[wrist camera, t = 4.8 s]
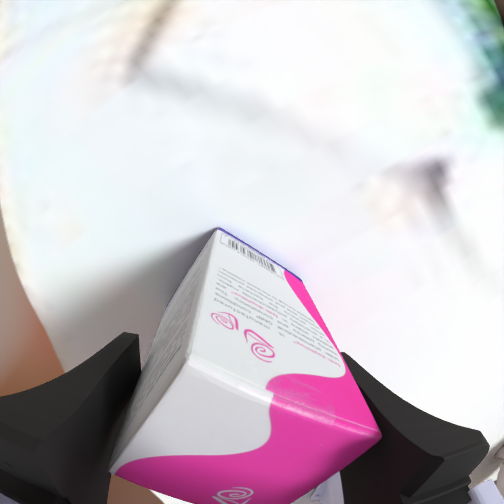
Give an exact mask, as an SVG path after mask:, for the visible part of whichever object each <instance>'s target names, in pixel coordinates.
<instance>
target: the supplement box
mask: <svg viewBox="0 0 504 504" xmlns="http://www.w3.org/2000/svg"><path fill="white" fill-rule="evenodd" d="M381 437H382V434H381V431H380V429H379V427H378V425H377V423H376V421H375V419H374V417H373V415H372V413H371V411H370V409H369V407H368V405H367V403H366V401H365V399H364V397H363V395H362V393H361V392H360V390H359V388H358V386H357V384H356V382H355V380H354V378H353V376H352V374H351V372H350V370H349V369H348V367H347V365H346V363H345V361H344V359H343V357H342V355H341V353H340V351H339V349H338V348H337V346H336V344H335V342H334V340H333V338H332V336H331V334H330V332H329V330H328V328H327V327H326V325H325V323H324V321H323V319H322V317H321V316H320V314H319V312H318V310H317V308H316V306H315V305H314V303H313V301H312V299H311V297H310V295H309V293H308V292H307V290H306V288H305V286H304V284H303V282H302V280H301V279H300V278H299V277H297V276H296V275H294V274H293V273H291V272H290V271H289V270H287V269H286V268H284V267H282V266H281V265H279V264H278V263H276V262H275V261H273V260H272V259H270V258H268V257H267V256H265V255H264V254H262V253H261V252H259V251H257V250H256V249H254V248H253V247H251V246H250V245H248V244H246V243H245V242H243V241H241V240H240V239H238V238H237V237H235V236H233V235H232V234H230V233H228V232H227V231H225V230H223V229H222V228H220V227H217V228H216V230H215V231H214V232H213V234H212V235H211V237H210V239H209V240H208V242H207V243H206V245H205V246H204V248H203V249H202V251H201V252H200V254H199V255H198V257H197V258H196V260H195V261H194V263H193V265H192V266H191V268H190V269H189V271H188V273H187V274H186V276H185V277H184V279H183V280H182V282H181V284H180V285H179V287H178V288H177V290H176V292H175V293H174V295H173V296H172V298H171V300H170V301H169V303H168V305H167V307H166V310H165V313H164V315H163V318H162V320H161V323H160V325H159V328H158V330H157V333H156V335H155V338H154V340H153V343H152V345H151V348H150V350H149V353H148V355H147V358H146V361H145V363H144V366H143V368H142V371H141V374H140V377H139V379H138V382H137V385H136V387H135V390H134V393H133V396H132V398H131V401H130V404H129V406H128V409H127V412H126V415H125V417H124V420H123V423H122V426H121V429H120V432H119V435H118V438H117V441H116V443H115V446H114V450H113V453H112V456H111V459H110V463H109V467H108V472H110V473H112V474H114V475H116V476H119V477H121V478H124V479H126V480H128V481H130V482H133V483H136V484H138V485H140V486H143V487H146V488H148V489H151V490H154V491H156V492H159V493H162V494H165V495H168V496H171V497H174V498H177V499H180V500H183V501H186V502H190V503H193V504H290V503H292V502H294V501H295V500H297V499H298V498H300V497H301V496H303V495H304V494H306V493H308V492H309V491H311V490H312V489H314V488H315V487H317V486H318V485H320V484H321V483H323V482H324V481H326V480H327V479H329V478H330V477H331V476H333V475H334V474H336V473H337V472H339V471H340V470H342V469H343V468H344V467H346V466H347V465H349V464H350V463H351V462H353V461H354V460H355V459H356V458H358V457H359V456H360V455H362V454H363V453H364V452H366V451H367V450H368V449H369V448H371V447H372V446H373V445H374V444H376V443H377V442H378V441H379V440H380V439H381Z"/></svg>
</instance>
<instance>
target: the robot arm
mask: <svg viewBox="0 0 504 504" xmlns="http://www.w3.org/2000/svg"><path fill="white" fill-rule="evenodd" d="M340 353H341V355H342V357H343V359H344V361H345V363H346V365H347V367H348V369H349V370H350V372H351V374H352V376H353V378H354V380H355V382H356V384H357V386H358V388H359V390H360V392H361V393H362V395H363V397H364V399H365V401H366V403H367V405H368V407H369V409H370V411H371V413H372V415H373V417H374V419H375V421H376V423H377V425H378V427H379V429H380V431H381V434H382V437H381V439H380V440H379V441H378V442H377V443H376V444H374V445H373V446H372V447H371V448H369V449H368V450H367V451H366V452H364V453H363V454H362V455H360V456H359V457H358V458H356V459H355V460H354V461H353V462H351V463H350V464H349V465H347V466H346V467H344V468H343V469H342V470H340V471H339V472H337V473H336V474H334V475H333V476H331V477H330V478H329V479H327V480H326V481H324V482H323V483H321V484H320V485H318V487H317V488H316V490H315V491H314V493H313V494H312V496H311V497H310V498H311V500H312V501H316V500H319V502H320V504H504V499H503V497H502V495H501V494H500V492H499V490H498V489H497V487H496V485H495V484H494V482H493V480H492V479H489V480H487V481H485V482H483V483H481V484H479V485H477V486H475V487H473V488H472V489H469V487H468V485H469V484H470V483H471V479H470V478H469V476H468V475H469V474H470V473H471V472H472V471H473V470H474V469H475V468H476V467H477V466H478V465H479V463H480V462H481V461H482V460H483V459H484V457H485V456H486V455H487V453H488V451H489V447H490V445H489V444H488V442H487V440H486V439H485V437H484V436H483V434H482V433H481V432H480V431H478V430H474V429H470V428H466V427H462V426H458V425H455V424H452V423H450V422H447V421H444V420H442V419H439V418H437V417H434V416H432V415H430V414H428V413H426V412H424V411H422V410H420V409H418V408H416V407H415V406H413V405H411V404H410V403H408V402H406V401H405V400H403V399H402V398H400V397H399V396H397V395H396V394H394V393H393V392H392V391H390V390H389V389H388V388H386V387H385V386H384V385H383V384H381V383H380V382H379V381H378V380H376V379H375V378H374V377H373V376H372V375H371V374H369V373H368V372H367V371H366V370H365V369H364V368H362V367H361V366H360V365H359V364H358V363H357V362H356V361H355V360H353V359H352V358H351V357H350V356H349V355H347V354H346V353H345V352H340ZM140 374H141V363H140V350H139V335H138V334H132V333H126V332H123V333H122V334H121V335H119V336H118V337H117V338H115V339H114V340H113V341H112V342H110V343H109V344H108V345H106V346H105V347H104V348H103V349H101V350H100V351H99V352H97V353H96V354H94V355H93V356H92V357H90V358H89V359H87V360H86V361H84V362H83V363H81V364H80V365H78V366H77V367H75V368H74V369H72V370H70V371H69V372H67V373H65V374H63V375H61V376H59V377H57V378H56V379H54V380H52V381H49V382H47V383H44V384H42V385H39V386H37V387H34V388H32V389H29V390H26V391H23V392H19V393H16V394H12V395H7V396H2V397H0V504H107V498H108V490H109V484H110V478H111V473H110V472H108V467H109V463H110V459H111V456H112V453H113V450H114V446H115V443H116V441H117V438H118V435H119V432H120V429H121V426H122V423H123V420H124V417H125V415H126V412H127V409H128V406H129V404H130V401H131V398H132V396H133V393H134V390H135V387H136V385H137V382H138V379H139V377H140Z"/></svg>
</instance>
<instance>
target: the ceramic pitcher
mask: <svg viewBox="0 0 504 504" xmlns="http://www.w3.org/2000/svg"><path fill="white" fill-rule="evenodd" d="M496 457H497V458H501V459H504V445H503V446H502V447H501V448H500V450H499V451H498V452H497V454H496V455H495V458H496ZM497 489H498V490H499V492H500V494H501V495H502V497H503V499H504V463H503V465H502V466H501V468H500V470H499V473H498V477H497Z"/></svg>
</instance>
